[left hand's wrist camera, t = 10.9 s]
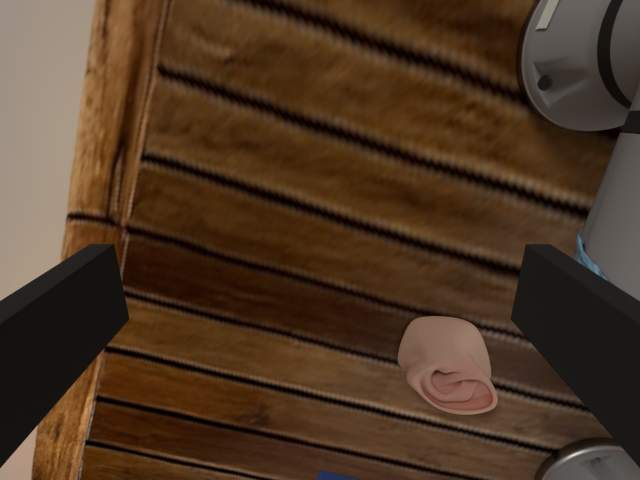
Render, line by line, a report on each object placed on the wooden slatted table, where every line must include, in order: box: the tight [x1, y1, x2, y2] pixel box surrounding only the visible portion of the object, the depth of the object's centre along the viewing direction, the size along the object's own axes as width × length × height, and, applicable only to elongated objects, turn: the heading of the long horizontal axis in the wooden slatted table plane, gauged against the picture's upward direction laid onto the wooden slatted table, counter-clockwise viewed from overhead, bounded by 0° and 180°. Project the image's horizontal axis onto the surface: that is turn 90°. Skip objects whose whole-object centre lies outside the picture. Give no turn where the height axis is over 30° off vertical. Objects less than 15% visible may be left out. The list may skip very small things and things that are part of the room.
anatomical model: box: [398, 316, 498, 415], centre depth 46 cm, size 13×4×12 cm
